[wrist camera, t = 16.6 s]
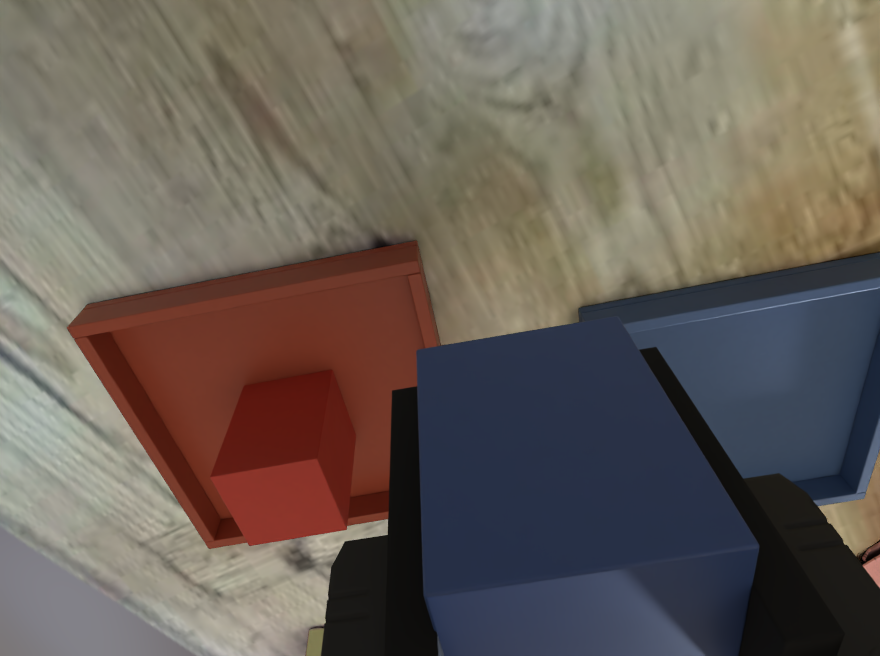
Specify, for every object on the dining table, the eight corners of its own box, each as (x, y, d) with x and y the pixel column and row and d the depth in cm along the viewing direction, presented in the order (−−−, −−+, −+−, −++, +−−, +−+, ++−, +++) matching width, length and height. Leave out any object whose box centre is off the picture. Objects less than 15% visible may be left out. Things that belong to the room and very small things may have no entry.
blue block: (415, 349, 13) (422, 596, 8) (618, 314, 13) (761, 546, 8) (447, 488, 15) (469, 750, 10) (619, 462, 15) (729, 714, 10)
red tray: (87, 303, 26) (65, 327, 25) (417, 239, 25) (417, 260, 24) (218, 520, 34) (208, 549, 33) (470, 477, 34) (474, 504, 32)
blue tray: (578, 307, 28) (589, 330, 26) (905, 247, 27) (938, 266, 25) (591, 514, 36) (600, 541, 34) (842, 473, 35) (864, 499, 33)
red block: (243, 385, 29) (209, 477, 24) (332, 369, 28) (317, 458, 23) (274, 450, 31) (249, 546, 26) (356, 435, 31) (347, 530, 26)
